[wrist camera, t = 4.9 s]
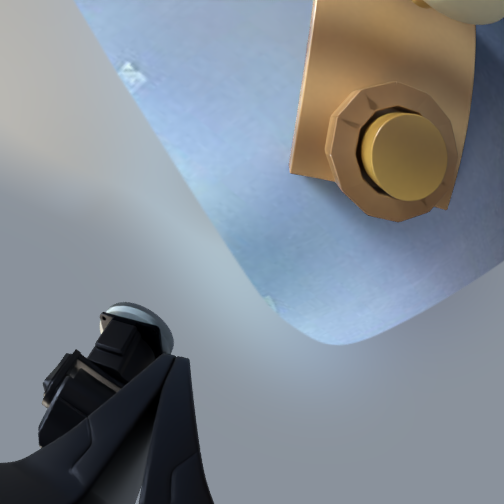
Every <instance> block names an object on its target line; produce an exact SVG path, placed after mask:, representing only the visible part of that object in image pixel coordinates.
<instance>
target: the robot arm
mask: <svg viewBox="0 0 504 504" xmlns="http://www.w3.org/2000/svg"><path fill="white" fill-rule="evenodd" d="M100 320H101V324H102V328H103V333H102V334H101V336H100V337H99V339H98V340H97V342H96V344H95V347H94V348H93V350H92V352H91V353H90V354H89V356H88V358H85V357H84V356H83V355H82V354H81V353H80V352H79V351H78V350H75V351H74V353H73V354H68V353H66V354H65V356H64V357H63V359H62V360H61V362H60V363H59V364H58V366H57V367H56V368H55V369H54V370H53V371H52V373H50V375H49V376H48V377H47V378H46V379H45V381H44V382H43V387H44V391H45V392H44V398H43V401H42V405H44V406H45V407H46V408H48V409H47V411H46V413H45V415H44V417H43V419H42V421H41V423H40V425H39V433H38V437H39V446H40V447H41V449H40V450H38V451H36V452H35V453H33V454H31V455H30V456H28V457H26V458H24V459H22V460H18V461H15V462H8V463H0V504H135V502H136V500H137V496H138V494H139V491H140V488H141V486H142V488H141V494H140V500H139V504H214V502H213V499H212V497H211V494H210V491H209V488H208V485H207V482H206V478H205V474H204V469H203V464H202V458H201V453H200V445H199V439H198V432H197V424H196V416H195V409H194V400H193V391H192V382H191V371H190V361H189V359H188V358H184V357H179V356H178V357H176V356H174V355H170V354H166V353H164V354H163V350H162V341H161V331H160V328H159V327H158V326H156V325H153V324H149V323H145V322H140V321H136V320H133V319H129V318H125V317H121V316H117V315H114V314H110V313H106V312H102V313H101V314H100Z"/></svg>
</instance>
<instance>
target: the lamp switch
mask: <svg viewBox="0 0 504 504" xmlns="http://www.w3.org/2000/svg"><path fill="white" fill-rule="evenodd" d="M361 159H362V163H363V166H364V169H365V171H366V173H367V174H368V176H369V177H370V178H371V179H372V181H373V182H375V183H376V184H377V185H378V186H379V187H380V188H382V189H383V190H384V191H385V192H386V193H388V194H389V195H391V196H392V197H394V198H396V199H399V200H403V201H417V200H421V199H423V198H426V197H427V196H429V195H430V194H432V193H433V192H434V191H435V190H436V189H437V188H438V187H439V185H440V184H441V182H442V181H443V178H444V176H445V173H446V170H447V165H448V153H447V147H446V143H445V141H444V138H443V136H442V134H441V133H440V131H439V130H438V128H437V127H436V126H435V125H434V124H433V123H432V122H431V121H429V120H428V119H426V118H424V117H422V116H420V115H417V114H411V113H387V114H384V115H382V116H380V117H378V118H377V119H375V120H374V121H373V122H372V123H371V124H370V125H369V126H368V128H367V129H366V131H365V133H364V136H363V139H362V143H361Z"/></svg>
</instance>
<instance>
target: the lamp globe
mask: <svg viewBox="0 0 504 504" xmlns="http://www.w3.org/2000/svg"><path fill="white" fill-rule="evenodd" d="M411 1H412V2H413V3H414V4H416V5H417V6H419V7H421V8H426V9H428V8H431V7H432V8H434V9H435V10H437V11H438V12H440V13H442V14H443V15H445V16H447V17H449V18H452V19H454V20H457V21H460V22H463V23H468V24H474V25H485V24H491V23H494V22H497V21H499V20H501V19H502V18H504V0H411Z"/></svg>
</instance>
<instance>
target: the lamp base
mask: <svg viewBox="0 0 504 504" xmlns="http://www.w3.org/2000/svg"><path fill="white" fill-rule="evenodd" d="M475 49H476V25H474V24H468V23H463V22H460V21H457V20H454V19H452V18H449V17H447V16H445V15H443V14H442V13H440V12H438V11H437V10H435V9H434V8H432V7H431V8H428V9H426V8H421V7H419V6H417V5H416V4H414V3H413V2H412V1H411V0H314V1H313V8H312V16H311V23H310V30H309V38H308V45H307V52H306V59H305V65H304V72H303V79H302V85H301V92H300V98H299V105H298V111H297V118H296V124H295V130H294V136H293V142H292V148H291V154H290V160H289V170H290V173H291V174H296V175H302V176H307V177H313V178H318V179H323V180H328V181H333V182H336V184H337V185H338V187H339V188H340V189H341V191H342V192H343V193H344V194H345V195H346V196H347V197H348V198H349V199H350V200H352V201H353V202H354V203H355V204H356V205H357V206H358V207H359V208H360V209H361V210H362V211H363V212H364V213H365V214H367V215H368V216H372V217H377V218H381V219H386V220H390V221H395V222H401V221H404V220H407V219H410V218H413V217H416V216H419V215H422V214H425V213H427V212H430V210H431V209H432V208H433V207H437V208H441V209H444V210H447V209H448V205H449V202H450V199H451V195H452V192H453V188H454V185H455V181H456V177H457V173H458V170H459V165H460V161H461V157H462V152H463V148H464V143H465V138H466V133H467V127H468V121H469V115H470V108H471V100H472V92H473V82H474V70H475ZM387 113H411V114H417V115H420V116H422V117H424V118H426V119H428V120H429V121H431V122H432V123H433V124H434V125H435V126H436V127H437V128H438V130H439V131H440V133H441V134H442V136H443V138H444V141H445V143H446V147H447V153H448V165H447V170H446V173H445V176H444V178H443V181H442V182H441V184H440V185H439V187H438V188H437V189H436V190H435V191H434V192H433V193H432V194H430V195H429V196H427V197H426V198H423V199H421V200H417V201H403V200H399V199H396V198H394V197H392V196H391V195H389V194H388V193H386V192H385V191H384V190H383V189H382V188H380V187H379V186H378V185H377V184H376V183H375V182H373V181H372V179H371V178H370V177H369V176H368V174H367V173H366V171H365V169H364V166H363V163H362V159H361V143H362V139H363V136H364V133H365V131H366V129H367V128H368V126H369V125H370V124H371V123H372V122H373V121H374V120H375V119H377V118H378V117H380V116H382V115H384V114H387Z"/></svg>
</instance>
